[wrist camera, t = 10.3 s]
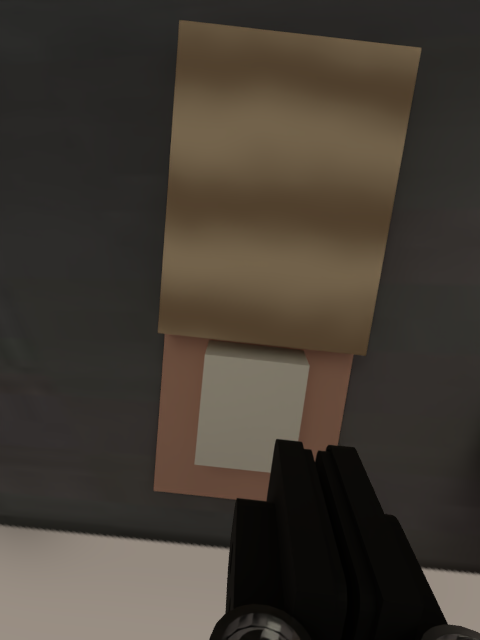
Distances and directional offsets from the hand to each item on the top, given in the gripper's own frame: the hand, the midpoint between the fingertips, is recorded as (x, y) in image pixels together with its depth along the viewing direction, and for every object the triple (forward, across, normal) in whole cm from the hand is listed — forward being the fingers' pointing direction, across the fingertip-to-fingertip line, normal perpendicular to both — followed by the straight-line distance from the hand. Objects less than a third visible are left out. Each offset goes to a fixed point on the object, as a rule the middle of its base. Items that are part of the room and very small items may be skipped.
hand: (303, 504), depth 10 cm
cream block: (+19, 0, +6) cm, 20 cm away
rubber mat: (+19, 0, +8) cm, 21 cm away
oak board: (+20, 0, -6) cm, 21 cm away
